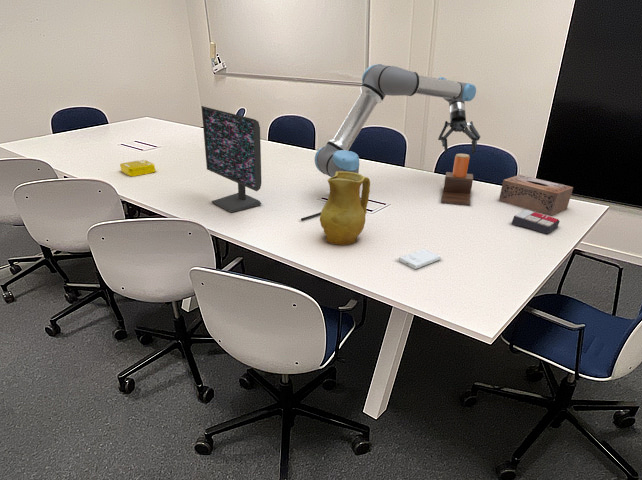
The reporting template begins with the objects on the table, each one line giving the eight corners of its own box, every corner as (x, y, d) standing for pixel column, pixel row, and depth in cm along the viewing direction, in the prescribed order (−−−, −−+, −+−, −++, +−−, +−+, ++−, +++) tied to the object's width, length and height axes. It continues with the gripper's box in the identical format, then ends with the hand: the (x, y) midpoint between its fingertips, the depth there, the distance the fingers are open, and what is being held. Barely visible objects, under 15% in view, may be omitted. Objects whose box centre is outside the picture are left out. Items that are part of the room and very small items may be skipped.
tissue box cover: (566, 208, 203) (573, 187, 198) (551, 215, 196) (557, 193, 190) (514, 194, 220) (519, 174, 215) (498, 200, 213) (503, 179, 207)
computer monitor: (198, 196, 216) (186, 107, 195) (227, 189, 225) (219, 104, 204) (246, 221, 188) (237, 121, 167) (277, 213, 197) (273, 116, 176)
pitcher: (317, 229, 180) (320, 167, 166) (362, 230, 182) (370, 169, 168) (319, 248, 166) (324, 182, 152) (369, 249, 167) (378, 184, 154)
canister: (466, 177, 215) (470, 157, 210) (451, 176, 217) (455, 156, 212) (466, 174, 221) (470, 153, 216) (452, 173, 223) (455, 152, 217)
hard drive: (440, 260, 157) (415, 269, 151) (422, 252, 163) (398, 260, 157) (440, 256, 157) (416, 265, 150) (423, 248, 162) (398, 256, 156)
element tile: (120, 171, 253) (118, 162, 250) (145, 166, 261) (144, 158, 259) (130, 177, 243) (128, 168, 241) (156, 172, 252) (155, 163, 249)
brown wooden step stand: (469, 205, 206) (473, 187, 202) (441, 203, 209) (443, 185, 205) (469, 190, 226) (473, 174, 221) (443, 188, 229) (446, 171, 224)
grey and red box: (550, 226, 176) (514, 214, 184) (546, 235, 178) (511, 224, 187) (560, 218, 182) (525, 208, 191) (557, 228, 185) (522, 217, 193)
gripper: (480, 119, 227) (482, 156, 222) (431, 118, 227) (432, 156, 222) (485, 109, 220) (488, 147, 215) (434, 109, 220) (436, 147, 215)
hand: (460, 152), depth 218 cm, fingers open, 13 cm apart
